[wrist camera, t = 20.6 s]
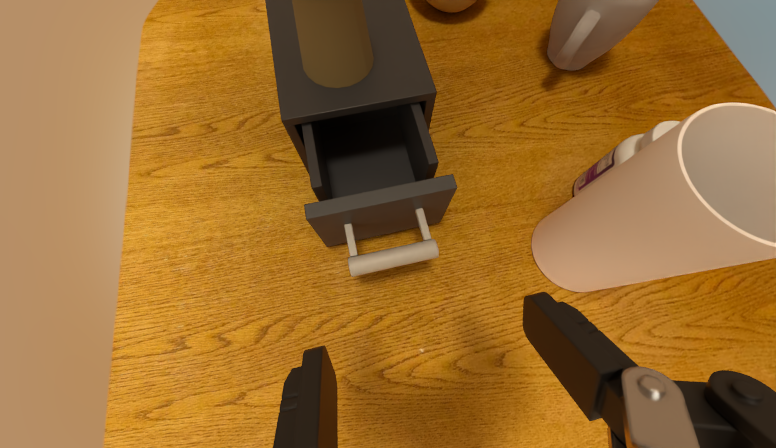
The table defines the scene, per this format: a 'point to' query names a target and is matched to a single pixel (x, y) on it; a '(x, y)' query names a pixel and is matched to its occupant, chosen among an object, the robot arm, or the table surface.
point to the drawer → (375, 183)
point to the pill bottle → (621, 155)
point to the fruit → (451, 5)
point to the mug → (591, 28)
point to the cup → (671, 206)
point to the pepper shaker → (333, 41)
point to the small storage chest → (376, 91)
